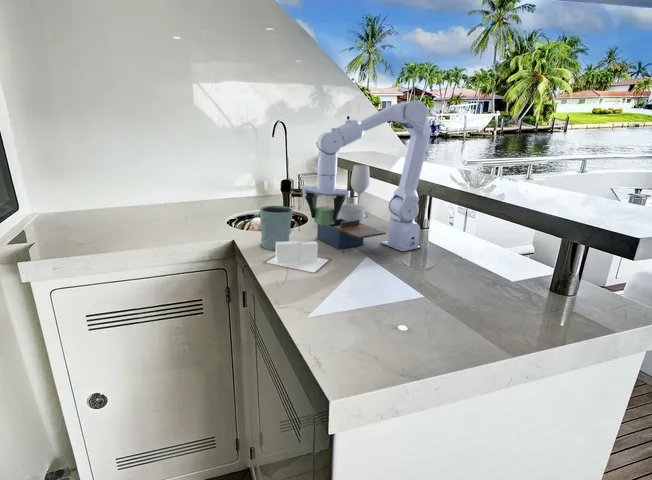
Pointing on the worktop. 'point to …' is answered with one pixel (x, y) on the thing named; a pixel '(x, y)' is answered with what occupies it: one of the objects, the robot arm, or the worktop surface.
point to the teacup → (351, 212)
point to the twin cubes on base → (298, 255)
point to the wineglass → (360, 179)
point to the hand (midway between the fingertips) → (324, 218)
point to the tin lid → (358, 229)
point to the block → (324, 216)
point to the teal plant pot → (275, 225)
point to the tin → (337, 236)
